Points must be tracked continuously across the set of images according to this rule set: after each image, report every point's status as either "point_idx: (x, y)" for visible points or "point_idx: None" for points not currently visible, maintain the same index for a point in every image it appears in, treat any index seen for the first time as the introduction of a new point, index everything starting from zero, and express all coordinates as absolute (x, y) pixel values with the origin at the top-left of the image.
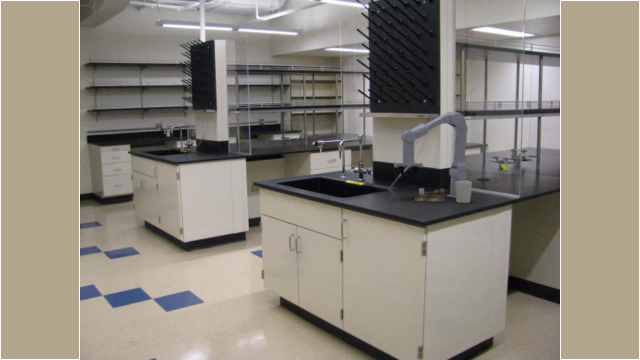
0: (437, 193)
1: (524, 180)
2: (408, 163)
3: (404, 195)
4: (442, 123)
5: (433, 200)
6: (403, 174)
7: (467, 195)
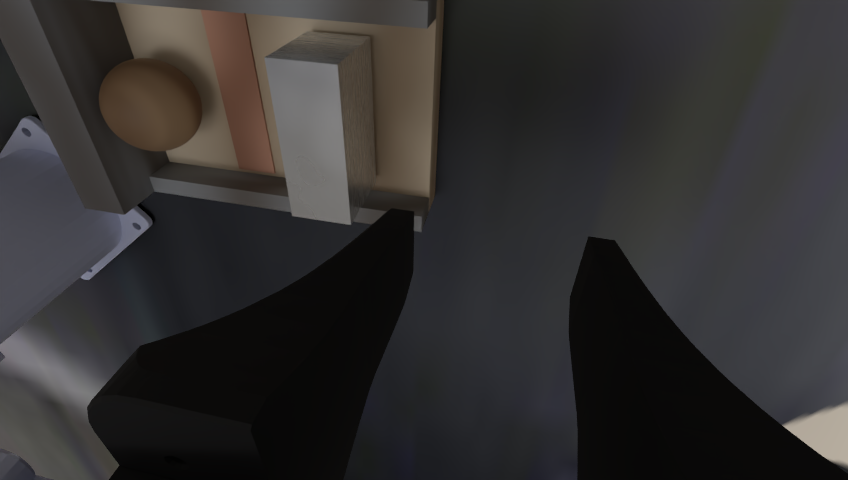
0: (128, 63)
1: None
2: None
3: (526, 302)
4: None
5: None
6: (633, 337)
7: None
